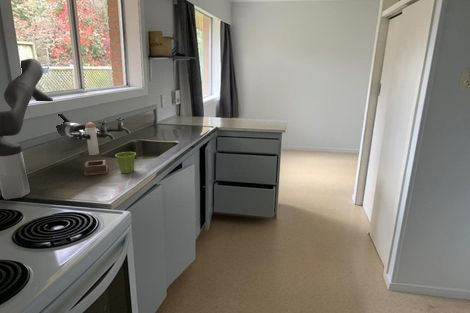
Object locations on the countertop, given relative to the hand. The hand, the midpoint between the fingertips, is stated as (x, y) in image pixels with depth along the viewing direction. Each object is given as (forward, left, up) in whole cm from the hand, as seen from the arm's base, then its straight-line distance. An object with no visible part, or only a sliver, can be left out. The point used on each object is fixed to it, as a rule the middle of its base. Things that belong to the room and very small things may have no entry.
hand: (94, 136), depth 147 cm
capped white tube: (+2, +1, -9) cm, 9 cm away
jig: (+2, +1, -18) cm, 18 cm away
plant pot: (-4, -13, -18) cm, 22 cm away
